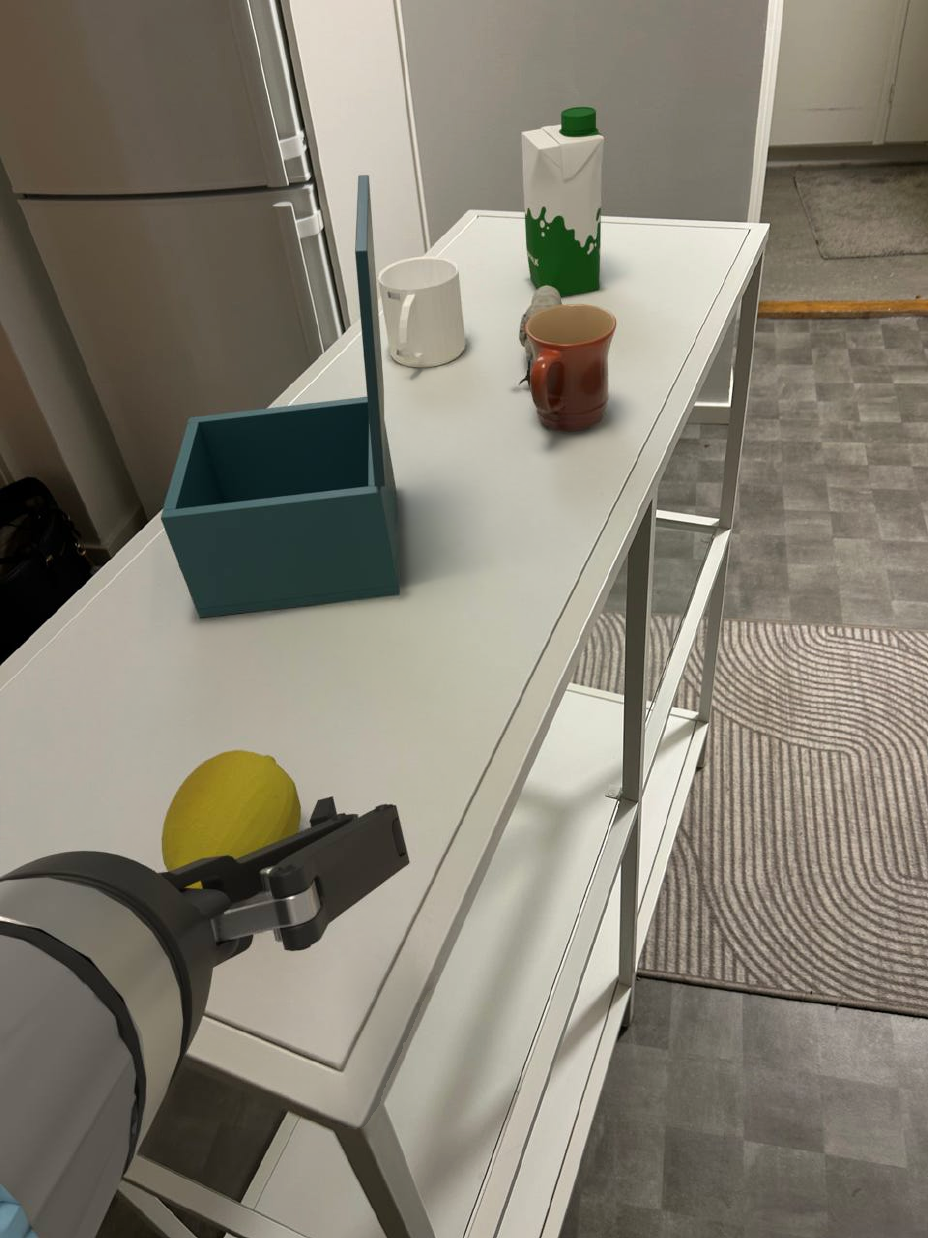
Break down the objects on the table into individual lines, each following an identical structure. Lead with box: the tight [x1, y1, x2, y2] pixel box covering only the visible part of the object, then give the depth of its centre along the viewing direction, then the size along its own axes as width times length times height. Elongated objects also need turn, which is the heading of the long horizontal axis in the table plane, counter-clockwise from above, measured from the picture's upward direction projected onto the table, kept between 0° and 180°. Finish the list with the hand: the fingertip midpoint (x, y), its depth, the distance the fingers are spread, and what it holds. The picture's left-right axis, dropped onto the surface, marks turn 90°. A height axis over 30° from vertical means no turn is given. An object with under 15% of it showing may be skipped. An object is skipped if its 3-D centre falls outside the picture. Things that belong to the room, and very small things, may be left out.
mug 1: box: [377, 255, 466, 368], centre depth 106 cm, size 12×9×9 cm
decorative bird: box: [518, 285, 563, 388], centre depth 103 cm, size 5×16×8 cm, turn 173°
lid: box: [354, 174, 385, 487], centre depth 70 cm, size 18×15×1 cm
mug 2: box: [525, 303, 617, 433], centre depth 91 cm, size 12×9×10 cm
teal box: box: [160, 396, 401, 619], centre depth 80 cm, size 17×15×10 cm
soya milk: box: [520, 106, 605, 298], centre depth 113 cm, size 9×9×20 cm
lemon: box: [161, 749, 302, 889], centre depth 57 cm, size 11×8×8 cm
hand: (193, 860), depth 45 cm, fingers open, 13 cm apart
